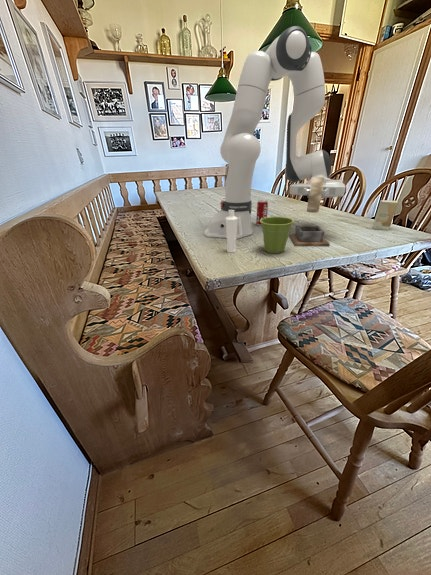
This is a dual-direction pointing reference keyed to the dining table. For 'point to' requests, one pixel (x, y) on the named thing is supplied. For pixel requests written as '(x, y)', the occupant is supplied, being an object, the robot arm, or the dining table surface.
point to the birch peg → (315, 194)
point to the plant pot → (275, 233)
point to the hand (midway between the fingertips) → (315, 192)
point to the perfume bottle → (231, 231)
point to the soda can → (261, 211)
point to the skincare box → (385, 214)
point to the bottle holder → (308, 236)
